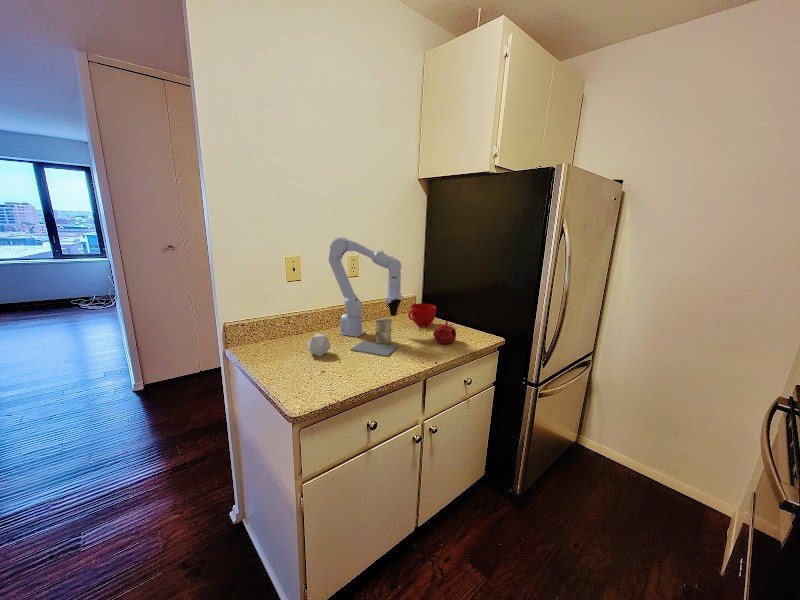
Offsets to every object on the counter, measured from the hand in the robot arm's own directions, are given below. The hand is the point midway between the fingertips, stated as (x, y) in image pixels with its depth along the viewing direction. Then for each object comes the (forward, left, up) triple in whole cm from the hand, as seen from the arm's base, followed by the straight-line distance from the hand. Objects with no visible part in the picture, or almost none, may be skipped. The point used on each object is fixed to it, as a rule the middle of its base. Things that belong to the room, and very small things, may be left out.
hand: (393, 315), depth 148 cm
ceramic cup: (+7, +20, -10) cm, 23 cm away
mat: (0, -20, -9) cm, 22 cm away
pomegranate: (+24, +1, -10) cm, 26 cm away
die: (-17, -34, -10) cm, 39 cm away
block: (0, -11, -9) cm, 14 cm away
